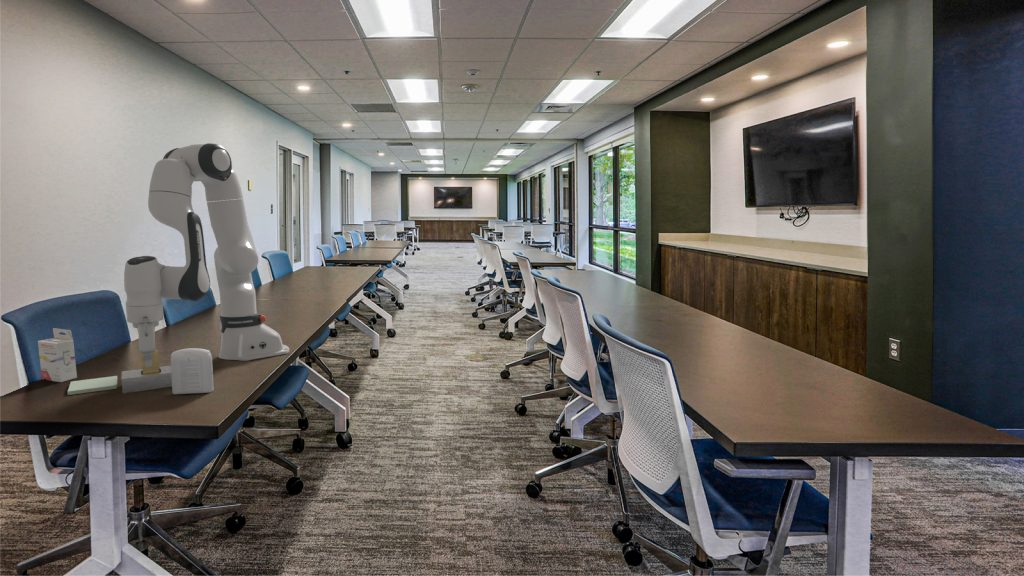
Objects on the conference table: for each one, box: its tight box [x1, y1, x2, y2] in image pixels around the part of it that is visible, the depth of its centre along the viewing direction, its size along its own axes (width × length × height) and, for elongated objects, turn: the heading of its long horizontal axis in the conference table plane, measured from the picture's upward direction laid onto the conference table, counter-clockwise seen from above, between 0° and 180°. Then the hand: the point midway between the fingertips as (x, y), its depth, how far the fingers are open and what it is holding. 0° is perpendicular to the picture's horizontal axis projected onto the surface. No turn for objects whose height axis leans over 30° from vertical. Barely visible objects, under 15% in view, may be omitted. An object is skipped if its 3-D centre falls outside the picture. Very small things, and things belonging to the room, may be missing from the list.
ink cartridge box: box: [37, 327, 78, 383], centre depth 174 cm, size 9×5×15 cm, turn 71°
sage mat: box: [67, 375, 118, 396], centre depth 167 cm, size 11×11×1 cm
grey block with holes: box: [120, 364, 172, 394], centre depth 169 cm, size 18×9×4 cm, turn 122°
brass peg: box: [140, 348, 160, 374], centre depth 168 cm, size 4×4×10 cm
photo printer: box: [170, 347, 215, 395], centre depth 161 cm, size 10×4×12 cm, turn 103°
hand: (148, 362), depth 168 cm, fingers open, 8 cm apart
